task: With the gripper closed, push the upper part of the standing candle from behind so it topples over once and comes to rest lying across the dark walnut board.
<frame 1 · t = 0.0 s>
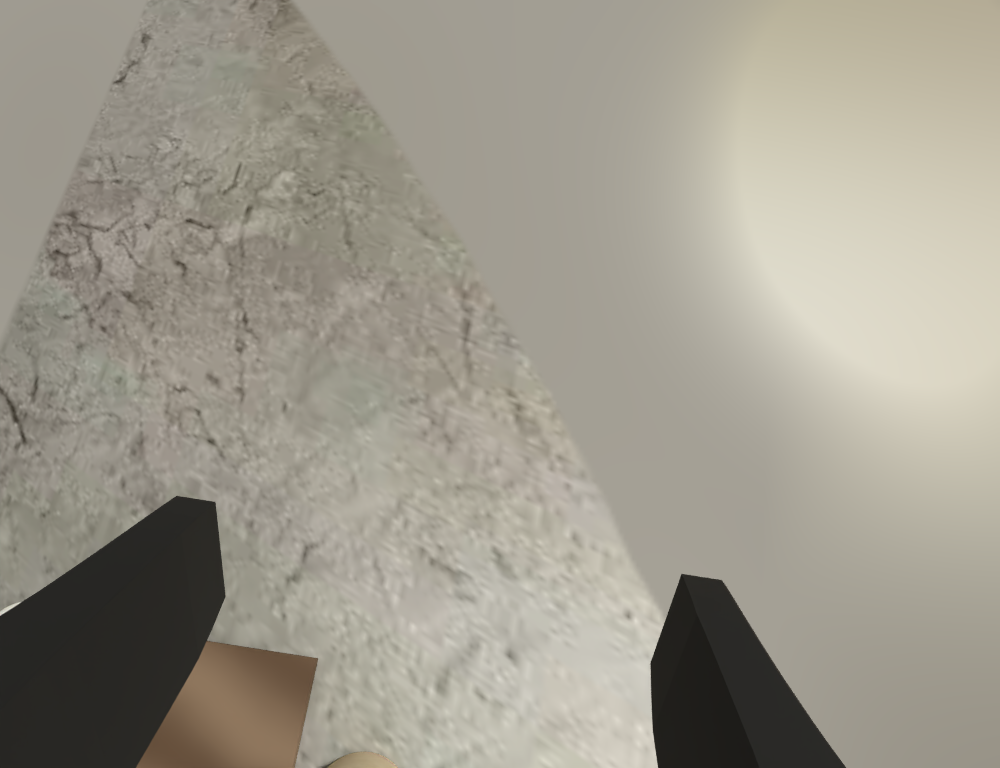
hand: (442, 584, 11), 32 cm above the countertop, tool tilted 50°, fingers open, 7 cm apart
walnut board: (182, 767, 38), on the countertop
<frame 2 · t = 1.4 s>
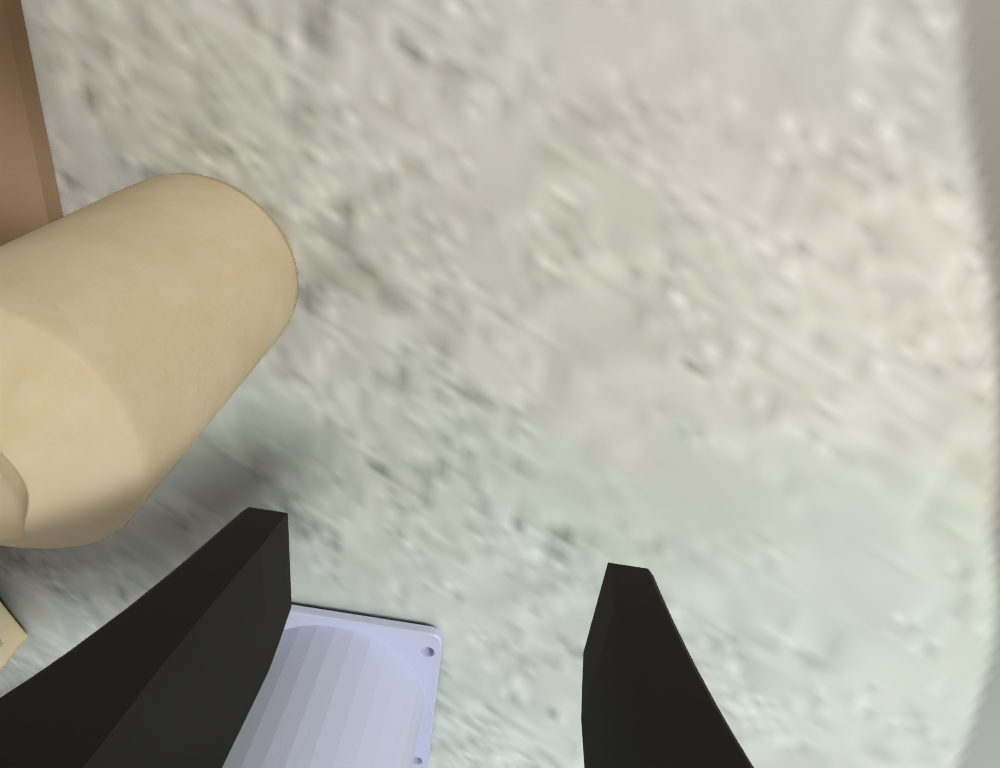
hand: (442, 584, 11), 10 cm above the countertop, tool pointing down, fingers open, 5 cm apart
candle: (209, 265, 20), on the countertop
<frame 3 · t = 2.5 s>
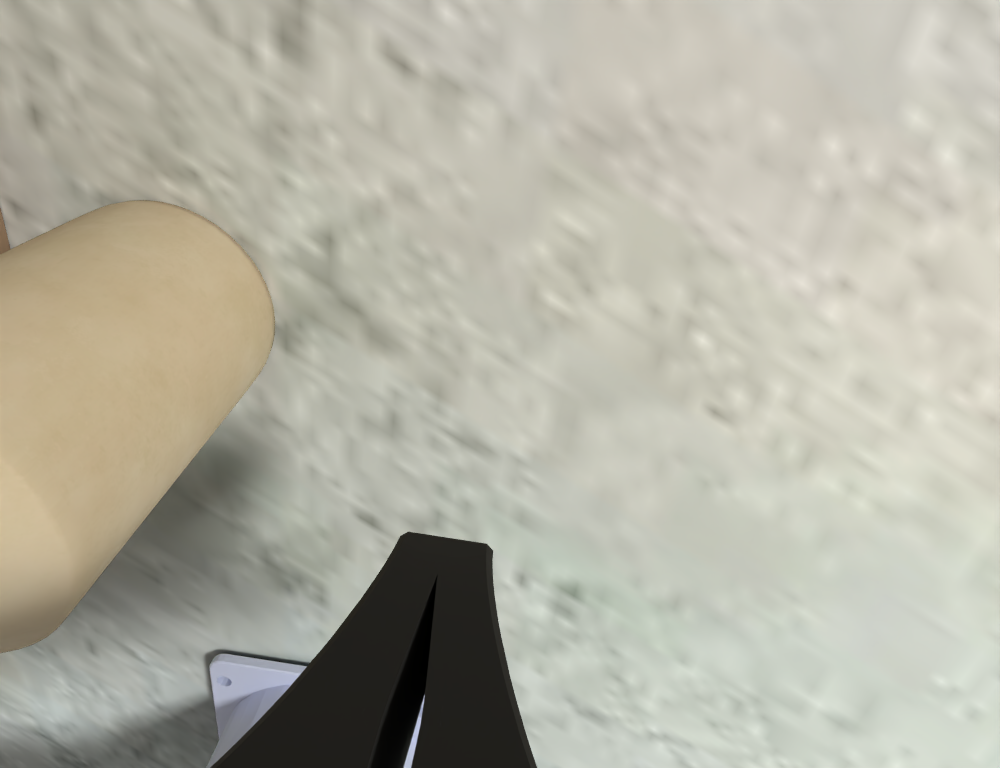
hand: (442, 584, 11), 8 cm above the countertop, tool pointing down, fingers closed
candle: (176, 301, 18), on the countertop
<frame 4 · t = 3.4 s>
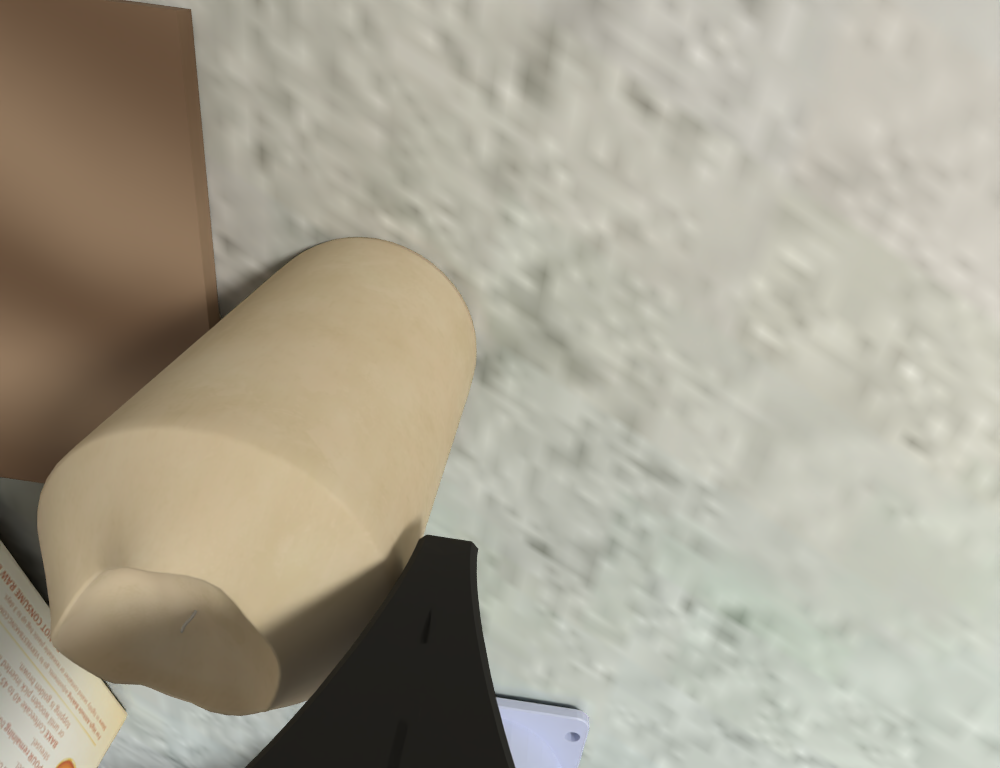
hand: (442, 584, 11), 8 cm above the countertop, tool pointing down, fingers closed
candle: (374, 335, 18), on the countertop, touching gripper
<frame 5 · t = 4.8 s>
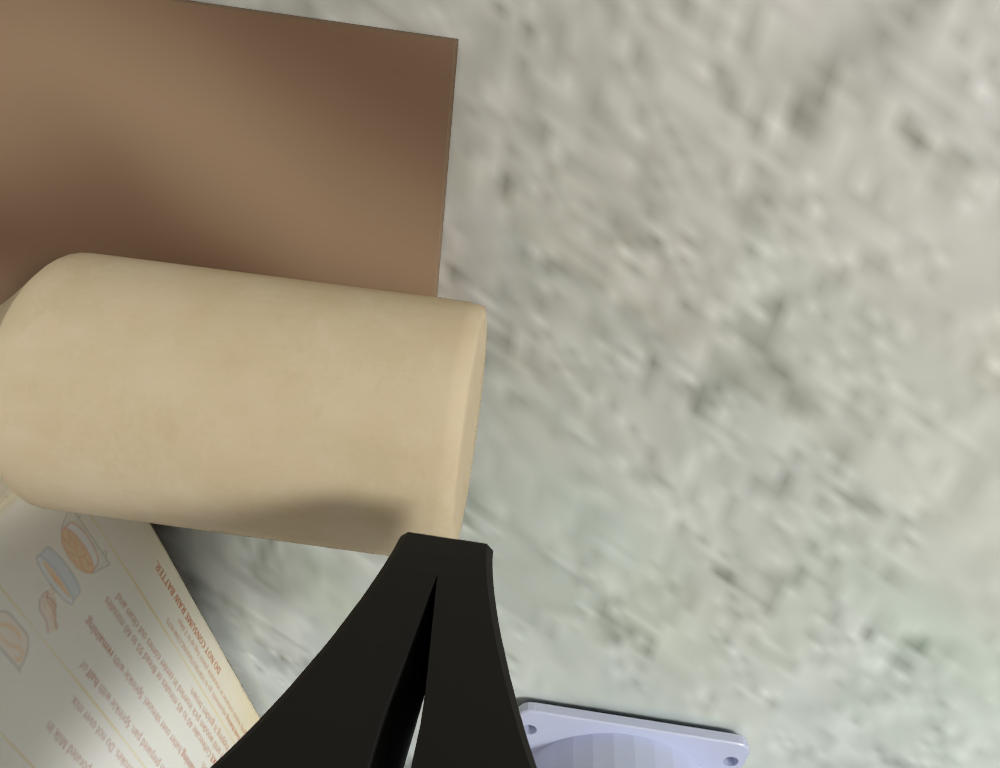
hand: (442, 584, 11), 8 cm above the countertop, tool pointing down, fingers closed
walnut board: (198, 290, 18), on the countertop
coffeecake box: (108, 598, 23), on the countertop, touching walnut board
candle: (481, 433, 15), point 3 cm above the countertop, touching walnut board
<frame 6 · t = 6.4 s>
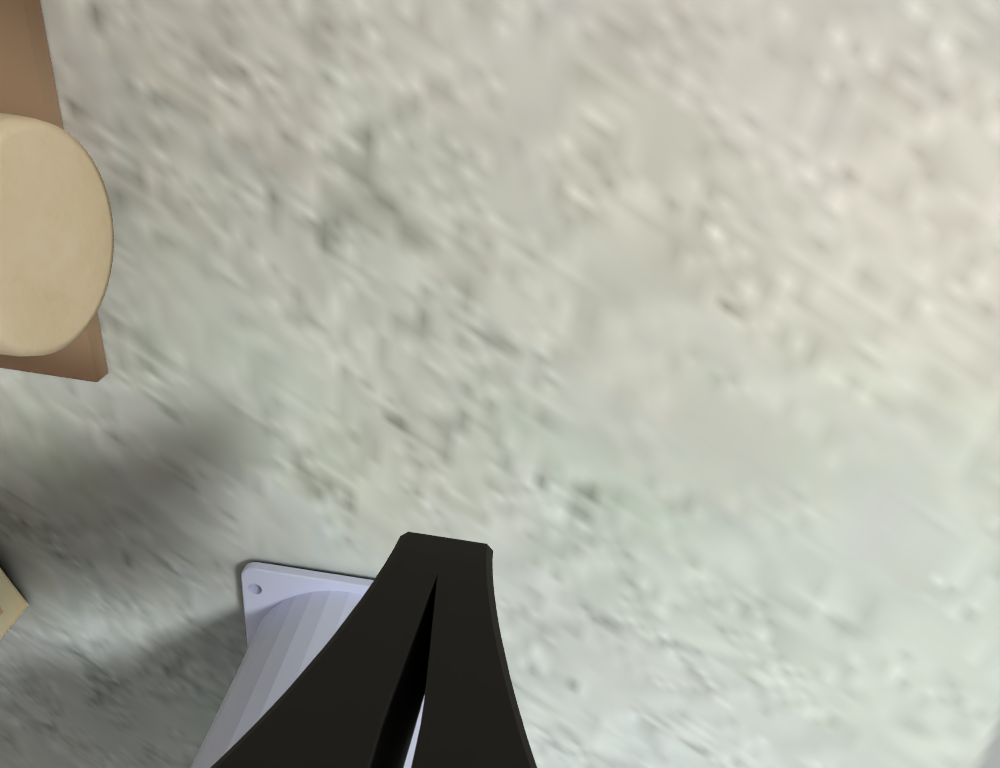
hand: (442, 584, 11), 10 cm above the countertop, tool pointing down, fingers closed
candle: (57, 243, 16), point 3 cm above the countertop, touching walnut board
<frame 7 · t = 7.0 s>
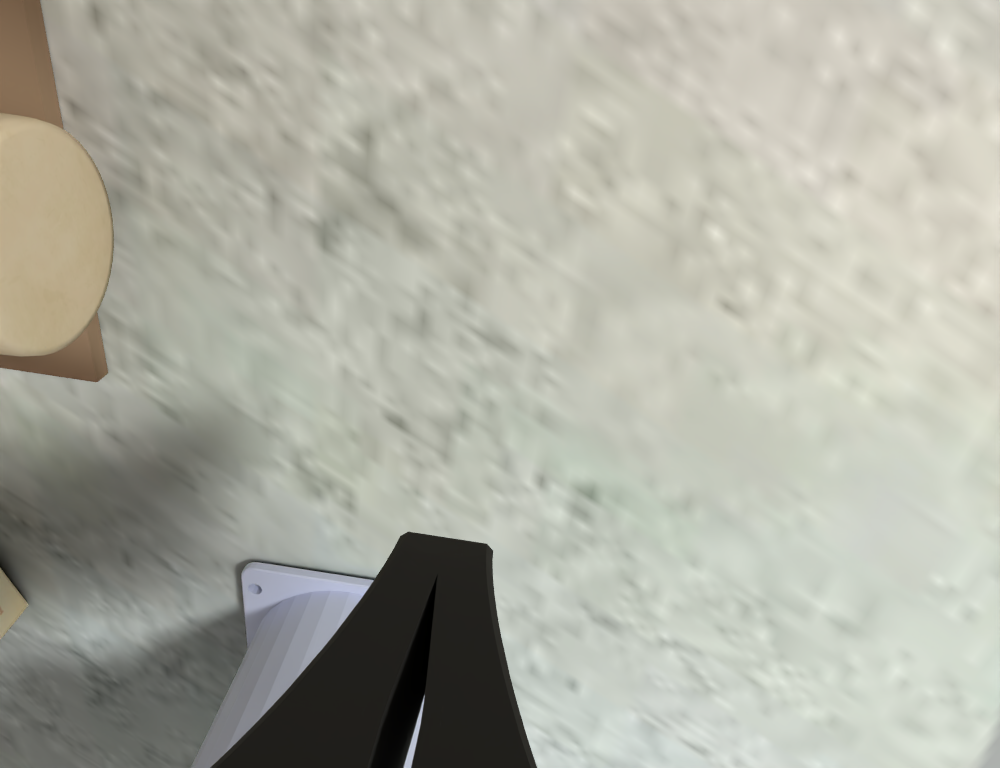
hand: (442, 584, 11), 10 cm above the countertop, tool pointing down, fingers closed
candle: (57, 243, 16), point 3 cm above the countertop, touching walnut board
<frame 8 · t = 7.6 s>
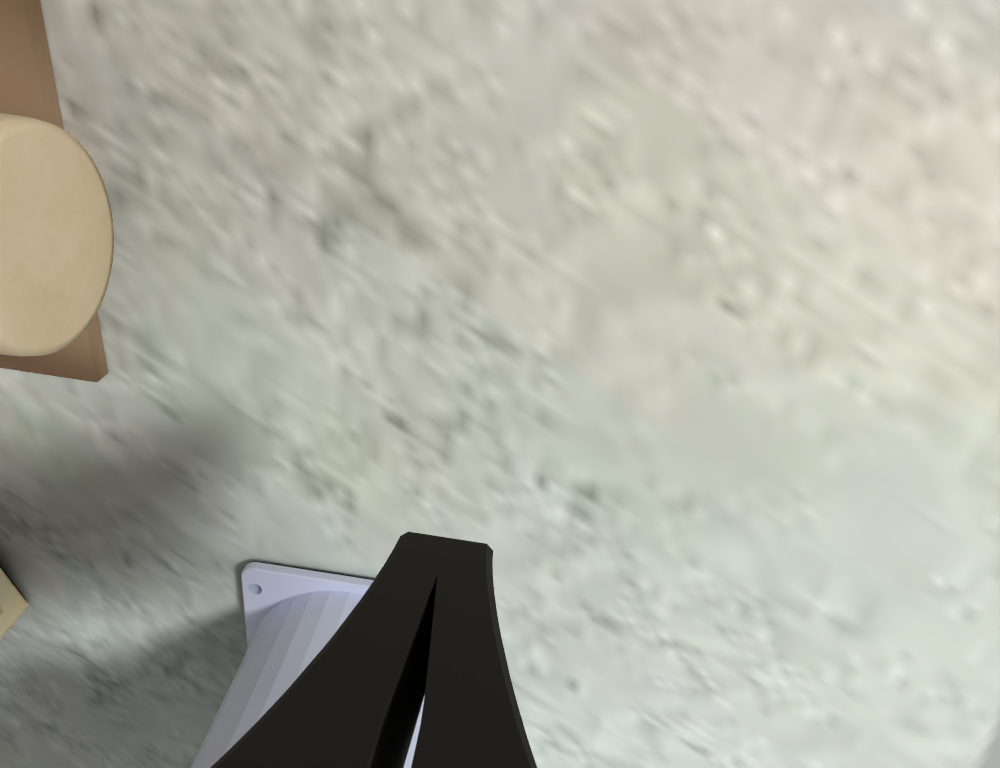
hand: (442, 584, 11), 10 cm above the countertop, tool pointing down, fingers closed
candle: (57, 243, 16), point 3 cm above the countertop, touching walnut board
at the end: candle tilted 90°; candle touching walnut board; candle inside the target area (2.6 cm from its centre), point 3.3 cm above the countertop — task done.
